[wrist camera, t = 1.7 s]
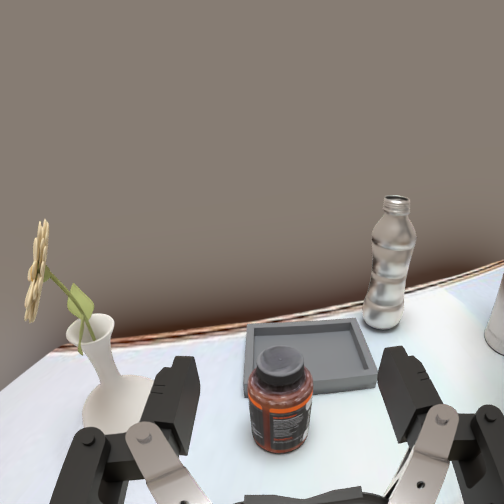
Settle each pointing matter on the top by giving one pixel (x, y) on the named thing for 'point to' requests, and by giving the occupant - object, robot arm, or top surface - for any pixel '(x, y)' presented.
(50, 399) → the top surface
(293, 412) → the supplement bottle
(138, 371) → the top surface
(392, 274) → the plastic bottle
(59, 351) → the top surface
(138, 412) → the flower in vase
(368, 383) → the gray tray
